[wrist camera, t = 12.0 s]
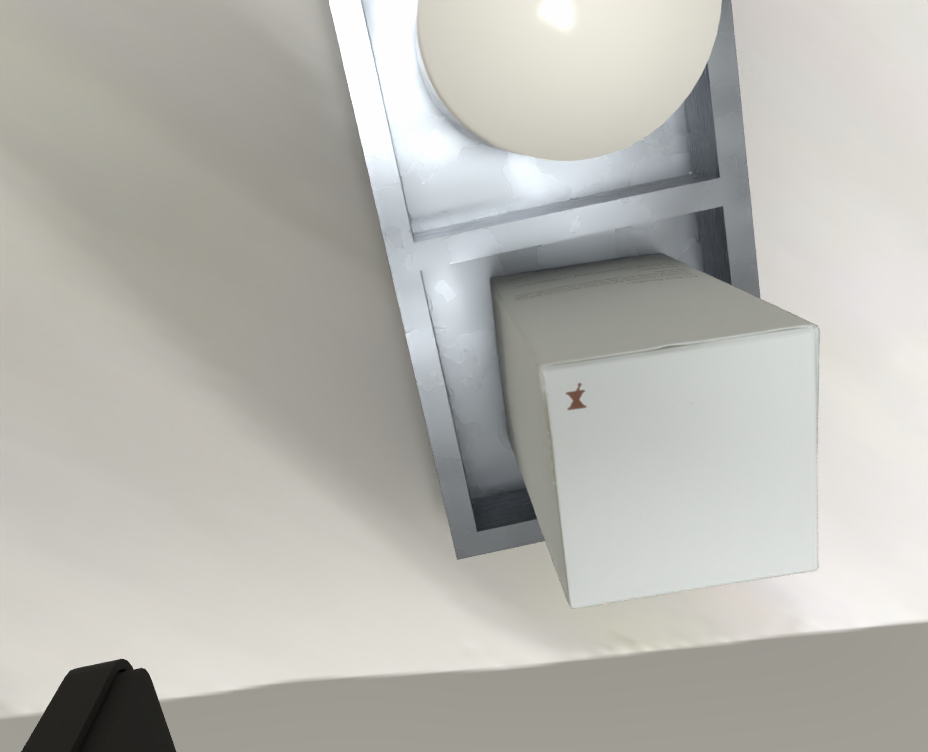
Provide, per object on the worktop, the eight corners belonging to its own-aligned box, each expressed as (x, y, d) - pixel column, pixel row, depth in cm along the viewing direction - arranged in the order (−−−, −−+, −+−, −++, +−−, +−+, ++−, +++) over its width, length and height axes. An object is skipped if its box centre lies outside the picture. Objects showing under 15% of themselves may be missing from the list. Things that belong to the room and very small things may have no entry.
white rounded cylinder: (440, 172, 31) (453, 188, 23) (393, -58, 29) (387, -136, 21) (647, 128, 32) (737, 127, 23) (616, -105, 29) (703, -204, 21)
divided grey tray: (451, 514, 37) (457, 559, 33) (315, -84, 30) (302, -115, 26) (740, 452, 37) (779, 490, 33) (672, -159, 30) (711, -201, 26)
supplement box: (506, 448, 35) (560, 617, 23) (486, 273, 33) (533, 358, 21) (680, 424, 35) (824, 579, 23) (671, 249, 33) (826, 319, 21)
